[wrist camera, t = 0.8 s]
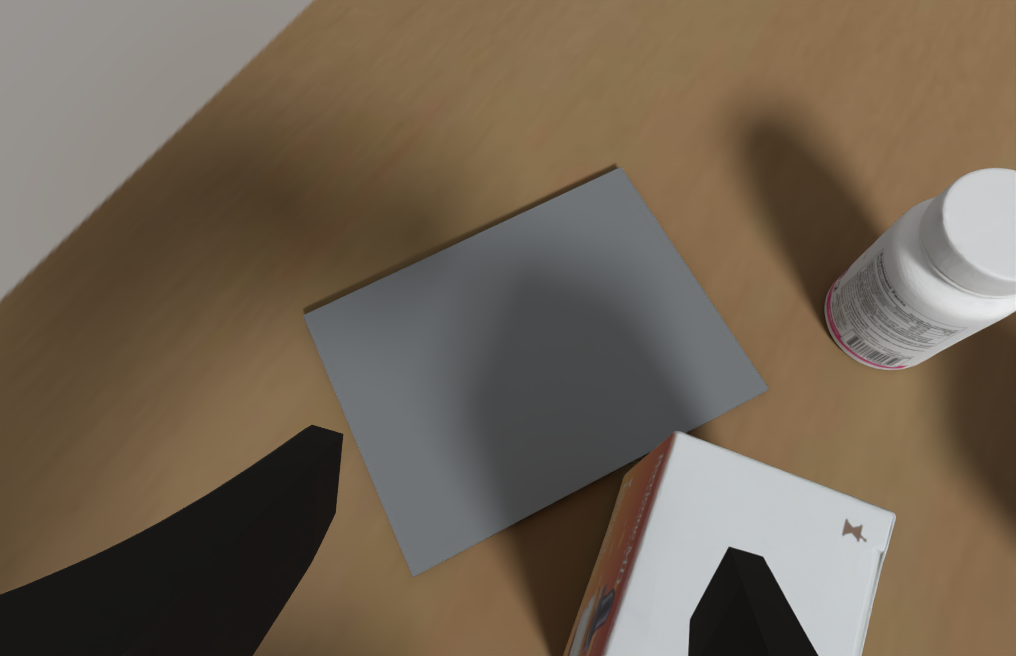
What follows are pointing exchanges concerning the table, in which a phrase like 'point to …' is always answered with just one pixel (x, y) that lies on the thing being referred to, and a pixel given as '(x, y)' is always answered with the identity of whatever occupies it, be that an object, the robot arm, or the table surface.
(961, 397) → the table surface
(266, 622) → the robot arm
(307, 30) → the table surface
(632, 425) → the mat
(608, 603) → the small box
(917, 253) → the pill bottle
